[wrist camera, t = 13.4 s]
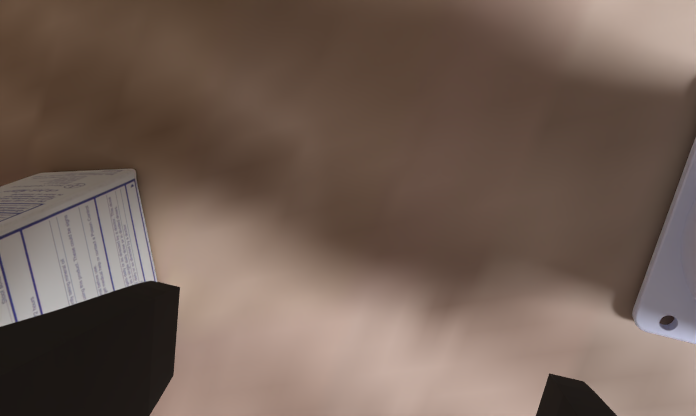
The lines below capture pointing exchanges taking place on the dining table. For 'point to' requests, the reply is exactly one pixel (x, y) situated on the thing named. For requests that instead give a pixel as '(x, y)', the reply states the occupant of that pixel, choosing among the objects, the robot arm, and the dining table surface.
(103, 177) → the medicine box
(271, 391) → the dining table surface
